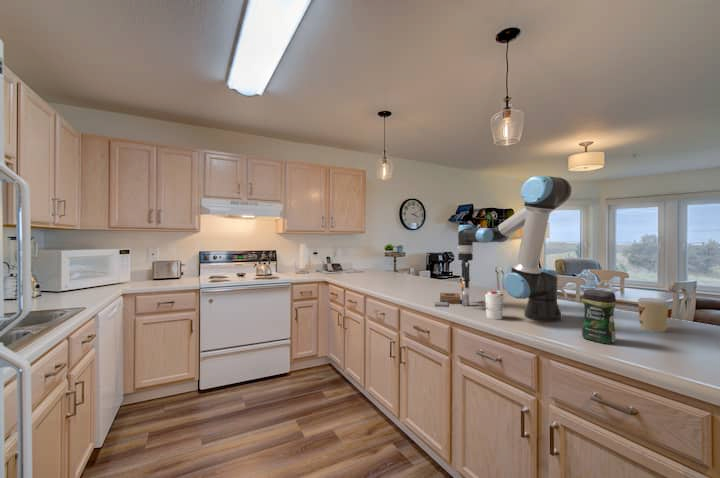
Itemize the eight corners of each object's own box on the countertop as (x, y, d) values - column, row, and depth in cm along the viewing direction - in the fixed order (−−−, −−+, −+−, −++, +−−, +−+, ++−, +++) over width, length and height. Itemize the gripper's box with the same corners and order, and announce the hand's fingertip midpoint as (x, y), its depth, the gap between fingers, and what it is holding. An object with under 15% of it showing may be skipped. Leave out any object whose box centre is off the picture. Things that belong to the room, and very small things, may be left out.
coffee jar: (578, 338, 119) (578, 289, 119) (589, 334, 123) (589, 287, 123) (609, 346, 111) (609, 293, 110) (619, 342, 115) (619, 291, 114)
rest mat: (447, 306, 171) (447, 304, 171) (434, 306, 173) (434, 304, 173) (447, 303, 178) (447, 302, 178) (434, 303, 180) (434, 301, 180)
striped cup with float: (508, 320, 144) (508, 294, 144) (489, 320, 144) (489, 294, 144) (498, 314, 154) (498, 290, 154) (481, 314, 154) (481, 290, 154)
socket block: (460, 304, 177) (460, 297, 177) (440, 303, 180) (440, 296, 180) (459, 300, 188) (459, 293, 188) (440, 299, 191) (440, 292, 191)
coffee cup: (638, 324, 136) (638, 296, 136) (669, 328, 130) (669, 299, 129) (636, 329, 130) (636, 300, 130) (668, 334, 123) (668, 303, 123)
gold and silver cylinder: (469, 306, 171) (469, 280, 171) (462, 306, 172) (461, 280, 172) (469, 304, 175) (468, 279, 175) (461, 304, 176) (461, 279, 176)
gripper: (456, 251, 186) (457, 287, 187) (459, 254, 162) (459, 295, 163) (470, 251, 185) (470, 287, 185) (475, 254, 160) (475, 296, 161)
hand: (465, 291), depth 174 cm, fingers open, 13 cm apart
